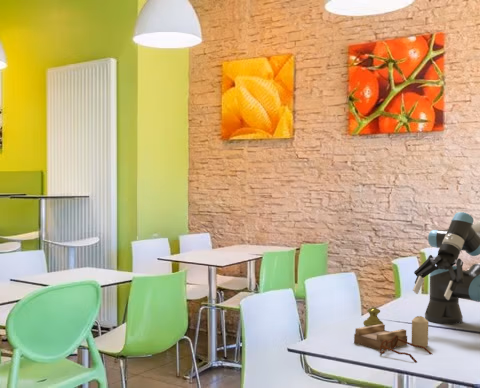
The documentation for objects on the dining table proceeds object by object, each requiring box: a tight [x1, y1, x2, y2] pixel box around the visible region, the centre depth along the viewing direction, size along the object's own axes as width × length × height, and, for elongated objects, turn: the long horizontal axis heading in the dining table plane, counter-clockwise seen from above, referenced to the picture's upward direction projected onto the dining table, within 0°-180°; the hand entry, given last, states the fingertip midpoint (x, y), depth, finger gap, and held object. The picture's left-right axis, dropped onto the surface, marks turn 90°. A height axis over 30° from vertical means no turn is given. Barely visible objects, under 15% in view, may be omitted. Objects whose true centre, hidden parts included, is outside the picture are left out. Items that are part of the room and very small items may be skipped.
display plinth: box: [353, 323, 408, 351], centre depth 204 cm, size 14×12×5 cm
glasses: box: [379, 335, 433, 363], centre depth 190 cm, size 13×13×5 cm
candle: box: [410, 315, 429, 348], centre depth 202 cm, size 6×6×10 cm
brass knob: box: [362, 306, 384, 327], centre depth 218 cm, size 7×7×10 cm
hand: (430, 295), depth 217 cm, fingers open, 13 cm apart
